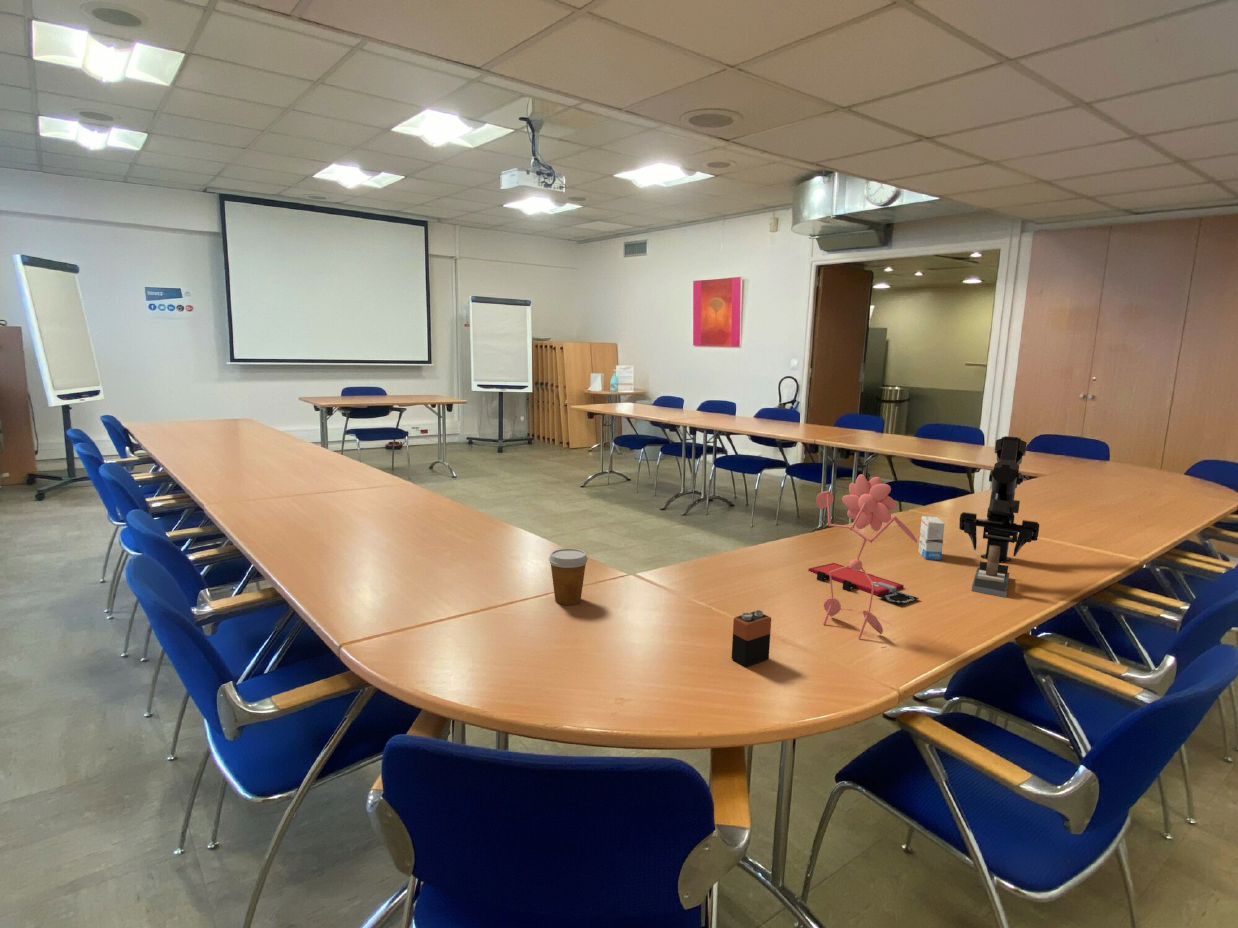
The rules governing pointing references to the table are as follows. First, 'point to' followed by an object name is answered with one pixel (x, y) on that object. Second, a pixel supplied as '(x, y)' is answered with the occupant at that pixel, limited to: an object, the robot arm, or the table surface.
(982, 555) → the robot arm
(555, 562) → the disposable coffee cup
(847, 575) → the red board with handle
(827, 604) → the figurine
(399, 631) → the table surface
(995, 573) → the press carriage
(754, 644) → the battery
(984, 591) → the rail
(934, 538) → the ink box
